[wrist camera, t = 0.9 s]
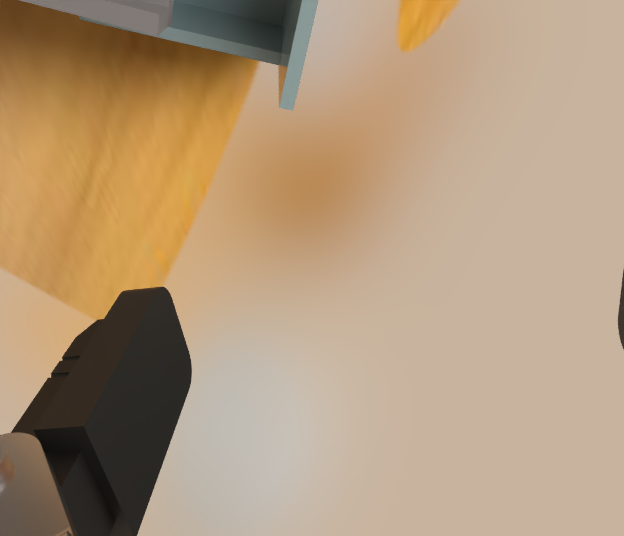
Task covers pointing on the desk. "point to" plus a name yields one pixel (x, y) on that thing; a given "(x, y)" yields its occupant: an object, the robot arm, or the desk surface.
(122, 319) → the robot arm
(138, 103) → the desk surface
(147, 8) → the lever
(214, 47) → the grey open bin
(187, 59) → the desk surface
